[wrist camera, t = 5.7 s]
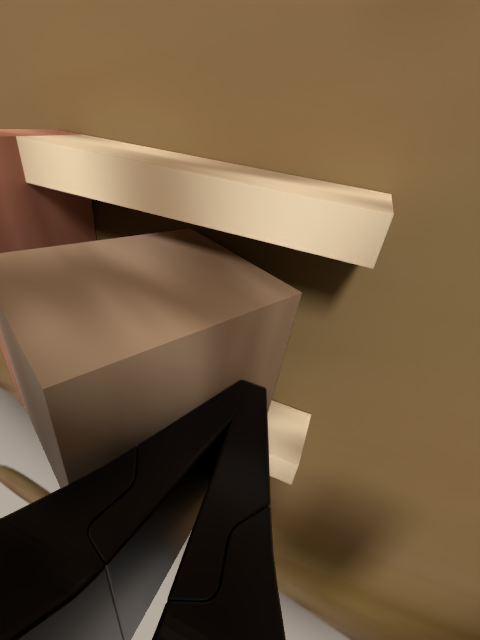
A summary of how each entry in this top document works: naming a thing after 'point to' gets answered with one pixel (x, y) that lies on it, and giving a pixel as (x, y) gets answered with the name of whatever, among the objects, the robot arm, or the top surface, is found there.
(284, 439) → the channel
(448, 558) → the top surface
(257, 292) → the block
